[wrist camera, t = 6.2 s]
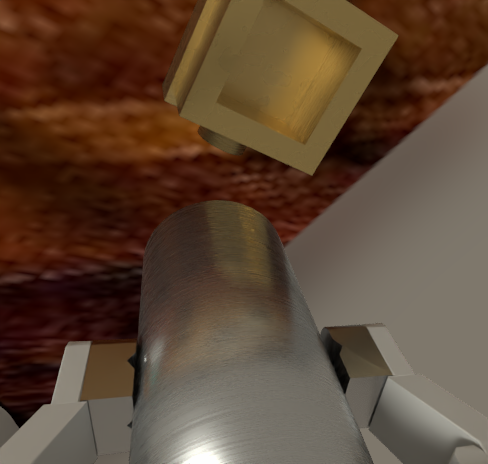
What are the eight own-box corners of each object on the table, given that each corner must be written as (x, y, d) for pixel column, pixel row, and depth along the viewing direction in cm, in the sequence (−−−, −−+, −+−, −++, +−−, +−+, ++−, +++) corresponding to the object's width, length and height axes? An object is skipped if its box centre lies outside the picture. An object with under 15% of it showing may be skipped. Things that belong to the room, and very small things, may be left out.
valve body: (271, 157, 35) (302, 204, 28) (154, 104, 31) (156, 144, 24) (364, -6, 30) (428, 3, 23) (237, -95, 26) (269, -114, 19)
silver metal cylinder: (168, 327, 15) (171, 703, 7) (122, 222, 12) (58, 619, 5) (291, 294, 15) (420, 632, 7) (269, 183, 13) (425, 515, 5)
